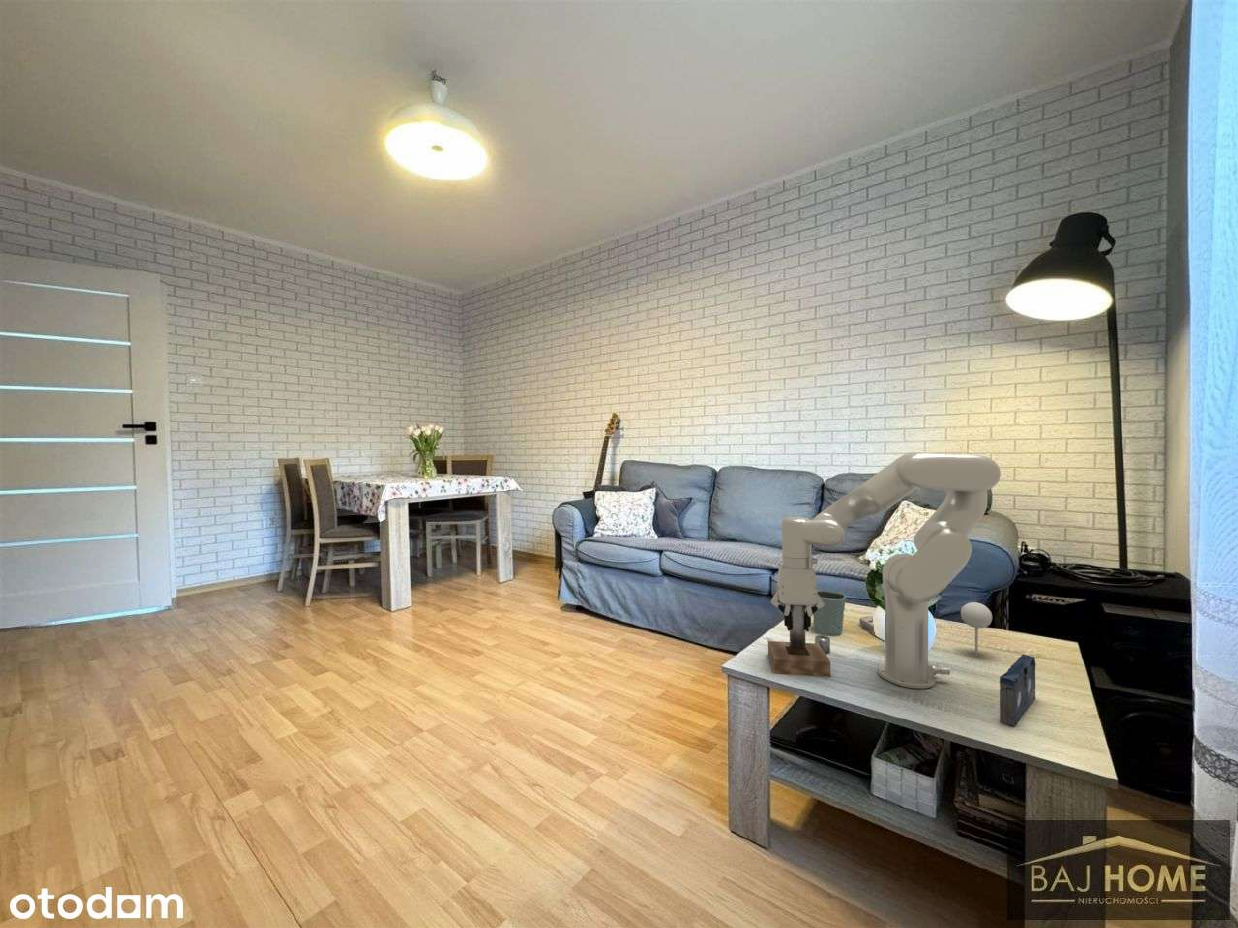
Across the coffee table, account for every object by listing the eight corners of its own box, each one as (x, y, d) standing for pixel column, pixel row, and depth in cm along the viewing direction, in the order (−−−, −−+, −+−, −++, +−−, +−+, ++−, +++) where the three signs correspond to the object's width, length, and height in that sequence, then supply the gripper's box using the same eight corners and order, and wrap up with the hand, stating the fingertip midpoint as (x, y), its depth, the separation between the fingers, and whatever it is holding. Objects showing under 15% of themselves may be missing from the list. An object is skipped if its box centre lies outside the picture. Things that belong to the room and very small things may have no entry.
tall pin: (803, 644, 131) (803, 601, 131) (807, 650, 127) (806, 606, 127) (788, 643, 132) (788, 601, 132) (791, 649, 128) (791, 605, 128)
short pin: (827, 649, 140) (827, 635, 140) (831, 654, 136) (831, 641, 136) (813, 648, 141) (813, 635, 141) (816, 654, 137) (816, 640, 137)
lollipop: (998, 658, 133) (998, 604, 132) (981, 662, 130) (981, 608, 130) (971, 648, 139) (971, 597, 139) (954, 652, 137) (955, 600, 136)
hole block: (819, 657, 135) (818, 643, 134) (830, 677, 123) (830, 662, 123) (767, 654, 137) (767, 641, 137) (774, 673, 125) (774, 658, 125)
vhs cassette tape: (1022, 695, 113) (1022, 653, 113) (1038, 700, 110) (1038, 657, 110) (996, 722, 102) (996, 676, 102) (1014, 728, 99) (1014, 681, 99)
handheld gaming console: (882, 614, 160) (914, 630, 145) (882, 624, 160) (914, 642, 145) (856, 615, 159) (885, 632, 144) (856, 625, 159) (885, 643, 144)
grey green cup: (805, 626, 158) (805, 590, 158) (832, 624, 160) (832, 588, 160) (824, 638, 148) (823, 600, 148) (852, 635, 150) (852, 597, 150)
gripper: (825, 560, 131) (826, 625, 132) (763, 558, 134) (763, 623, 135) (833, 566, 124) (833, 635, 124) (767, 565, 127) (767, 632, 127)
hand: (797, 628), depth 130 cm, fingers closed on tall pin, 4 cm apart
